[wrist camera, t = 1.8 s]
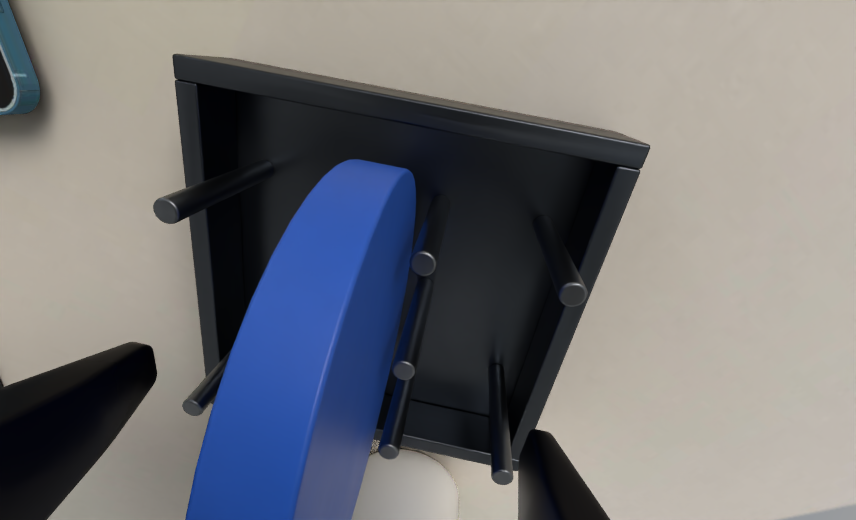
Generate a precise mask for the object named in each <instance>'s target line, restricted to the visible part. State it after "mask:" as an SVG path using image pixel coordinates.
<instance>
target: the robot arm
mask: <svg viewBox="0 0 856 520" xmlns="http://www.w3.org/2000/svg"><path fill="white" fill-rule="evenodd" d="M156 378H157V369H156V363H155V358H154V352H153V349H152V347H151V346H149V345H146V344H141V343H137V342H129V343H126V344H123V345H120V346H117V347H114V348H112V349H109V350H106V351H103V352H100V353H98V354H95V355H92V356H89V357H86V358H84V359H81V360H78V361H75V362H72V363H70V364H67V365H64V366H61V367H58V368H56V369H53V370H50V371H47V372H44V373H42V374H39V375H36V376H33V377H30V378H28V379H25V380H22V381H19V382H16V383H13V384H11V385H8V386H5V387H2V388H0V520H47V519H48V518H49V516H50V515H51V514H52V513H53V512H54V511H55V509H56V508H57V507H58V506H59V505H60V504H61V502H62V501H63V500H64V499H65V498H66V497H67V495H68V494H69V493H70V492H71V491H72V490H73V488H74V487H75V486H76V485H77V484H78V483H79V481H80V480H81V479H82V478H83V477H84V476H85V474H86V473H87V472H88V471H89V470H90V469H91V467H92V466H93V465H94V464H95V463H96V462H97V460H98V459H99V458H100V457H101V456H102V454H103V453H104V452H105V451H106V450H107V448H108V447H109V446H110V444H111V443H112V442H113V440H114V439H115V438H116V436H117V435H118V434H119V432H120V431H121V429H122V428H123V427H124V425H125V424H126V422H127V421H128V420H129V418H130V417H131V415H132V414H133V413H134V411H135V410H136V408H137V407H138V406H139V404H140V403H141V401H142V400H143V399H144V397H145V396H146V394H147V393H148V392H149V390H150V389H151V387H152V386H153V384H154V383H155V381H156ZM518 520H610V519H609V517H608V516H607V514H606V513H605V511H604V510H603V508H602V507H601V506H600V504H599V503H598V501H597V500H596V498H595V497H594V495H593V494H592V492H591V491H590V489H589V488H588V487H587V485H586V484H585V482H584V481H583V479H582V478H581V476H580V475H579V473H578V472H577V471H576V469H575V468H574V466H573V465H572V463H571V462H570V460H569V459H568V457H567V456H566V454H565V453H564V452H563V450H562V449H561V447H560V446H559V444H558V443H557V441H556V440H555V438H554V437H553V436H552V435H551V434H550V433H549V432H546V431H541V430H536V429H532V430H530V432H529V433H528V436H527V438H526V441H525V443H524V446H523V448H522V451H521V453H520V457H519V467H518Z"/></svg>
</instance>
